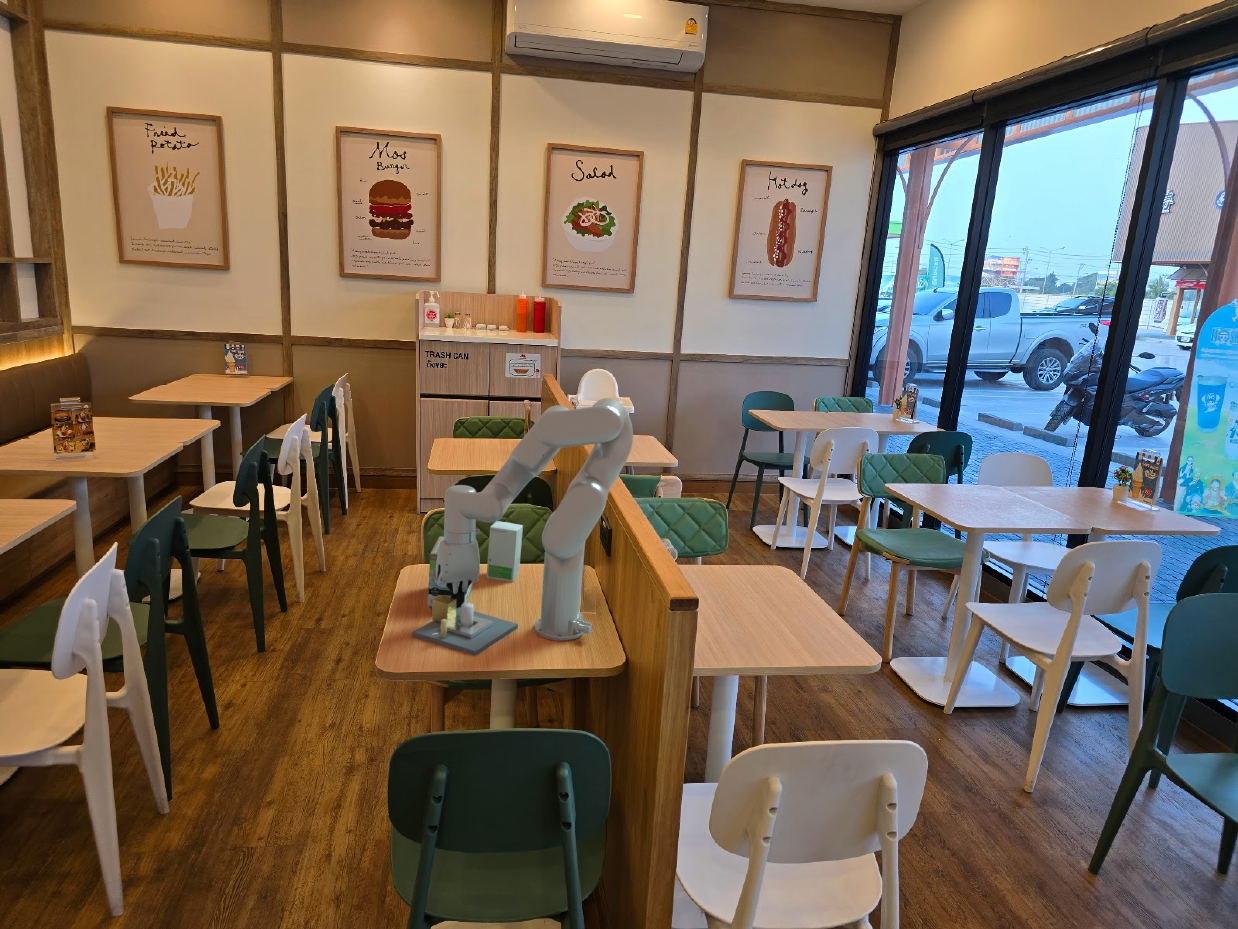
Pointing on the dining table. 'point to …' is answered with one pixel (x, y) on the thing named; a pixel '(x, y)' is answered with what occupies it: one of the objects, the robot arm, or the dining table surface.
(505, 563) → the skincare box
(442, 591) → the tea box
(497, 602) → the dining table surface
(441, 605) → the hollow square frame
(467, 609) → the post board
